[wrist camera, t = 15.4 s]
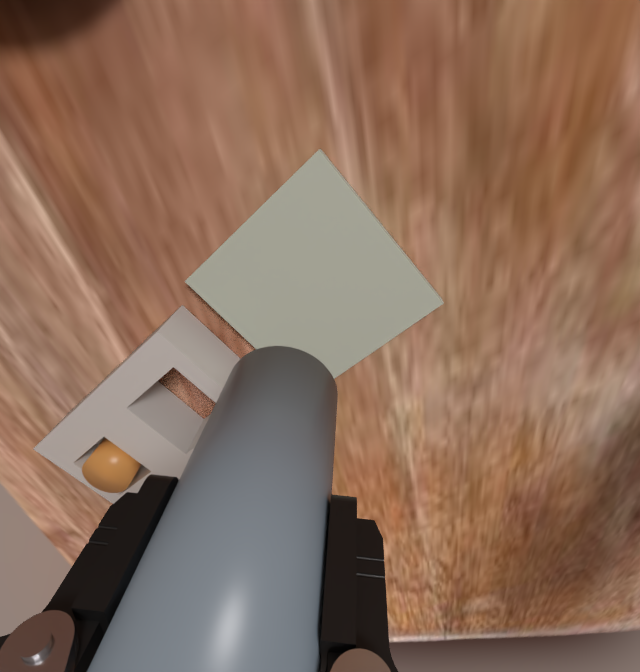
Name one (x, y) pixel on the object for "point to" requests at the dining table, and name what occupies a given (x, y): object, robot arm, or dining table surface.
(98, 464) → the orange rounded piece
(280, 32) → the dining table surface
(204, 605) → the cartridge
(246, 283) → the pad
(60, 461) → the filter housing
